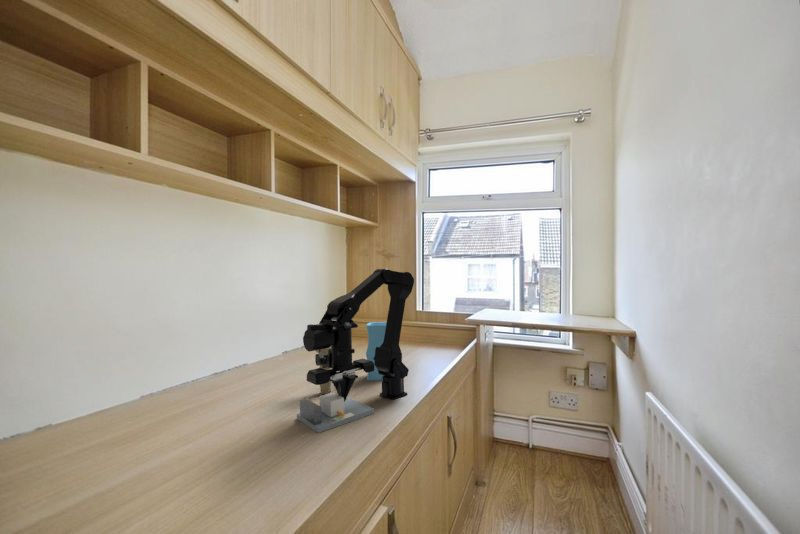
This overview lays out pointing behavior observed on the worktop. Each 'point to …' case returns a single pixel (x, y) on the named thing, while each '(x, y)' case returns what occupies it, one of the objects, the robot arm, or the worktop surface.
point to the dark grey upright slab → (311, 412)
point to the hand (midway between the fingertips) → (342, 402)
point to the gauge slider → (332, 404)
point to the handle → (325, 387)
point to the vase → (374, 345)
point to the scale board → (351, 413)
